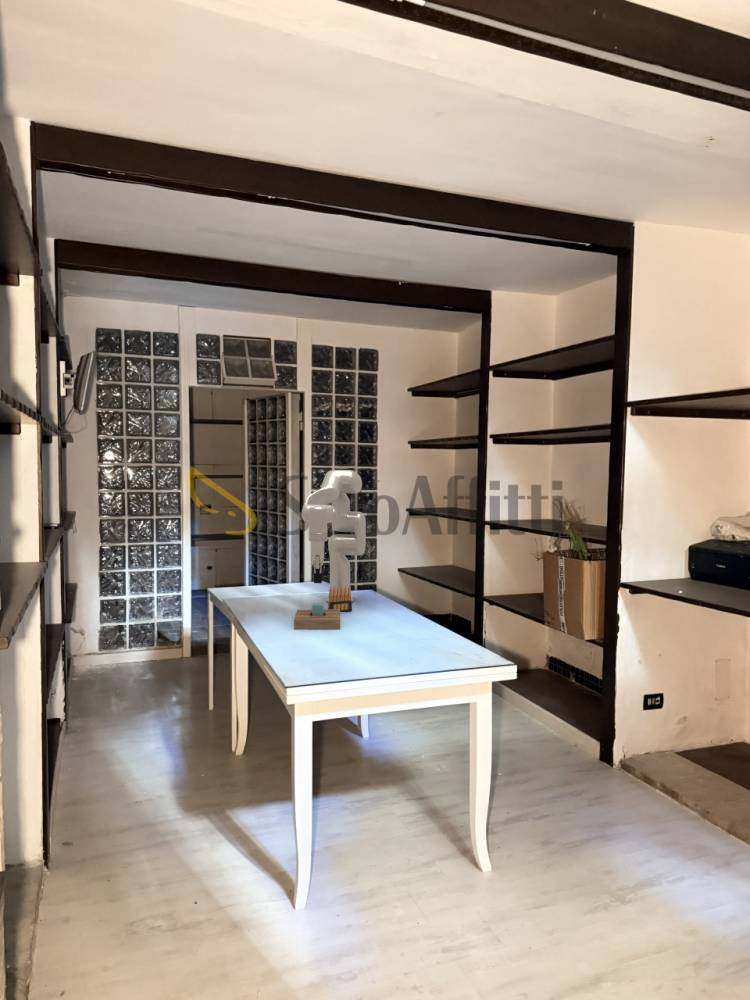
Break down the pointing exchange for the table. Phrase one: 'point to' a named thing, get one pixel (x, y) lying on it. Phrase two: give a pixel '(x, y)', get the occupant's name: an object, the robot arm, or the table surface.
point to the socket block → (317, 619)
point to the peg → (317, 609)
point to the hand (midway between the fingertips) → (317, 581)
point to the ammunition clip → (340, 599)
